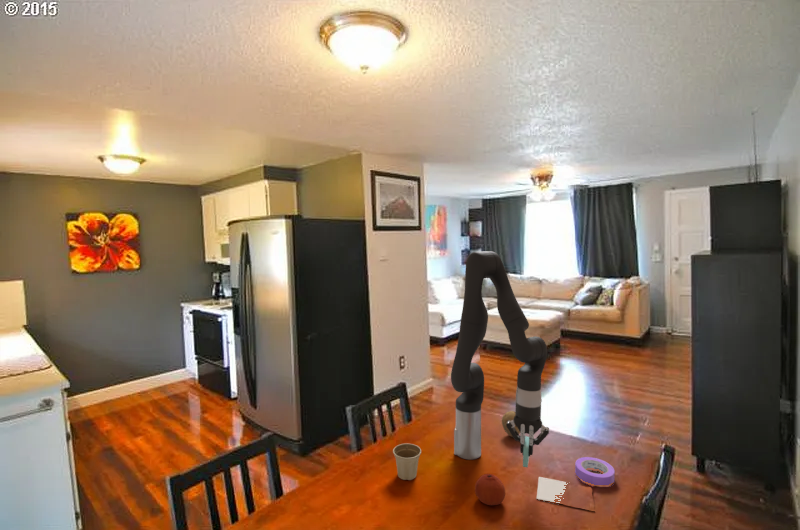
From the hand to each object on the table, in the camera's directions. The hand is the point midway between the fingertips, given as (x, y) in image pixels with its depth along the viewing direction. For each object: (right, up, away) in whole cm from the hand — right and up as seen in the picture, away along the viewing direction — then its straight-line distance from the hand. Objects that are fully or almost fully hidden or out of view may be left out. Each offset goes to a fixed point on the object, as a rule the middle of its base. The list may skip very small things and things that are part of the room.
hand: (526, 454), depth 128 cm
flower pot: (-37, -11, +9) cm, 40 cm away
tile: (0, -2, 0) cm, 2 cm away
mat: (+11, -11, -2) cm, 16 cm away
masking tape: (+25, -11, +7) cm, 28 cm away
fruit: (-13, -12, -5) cm, 18 cm away
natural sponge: (+6, -9, +35) cm, 37 cm away
